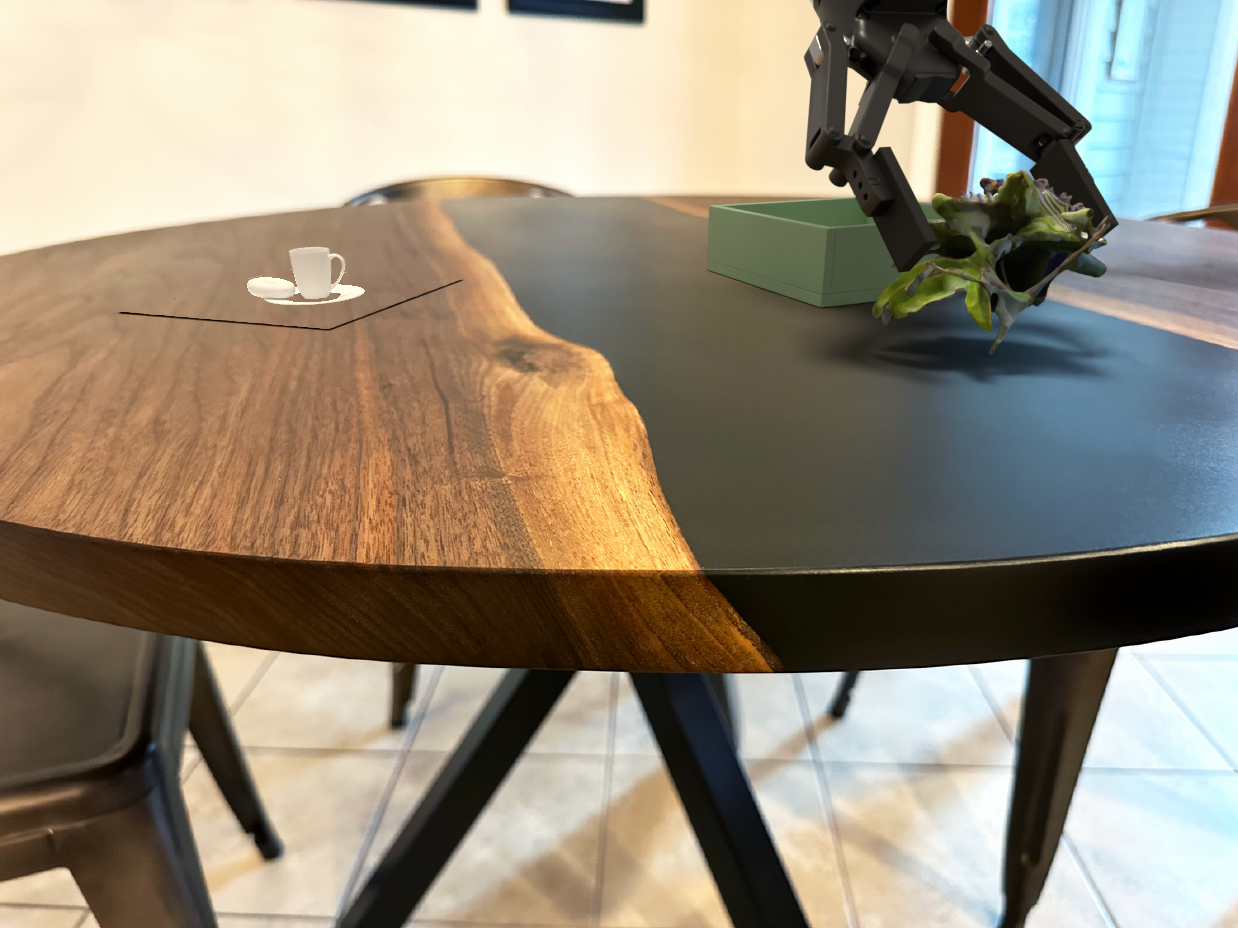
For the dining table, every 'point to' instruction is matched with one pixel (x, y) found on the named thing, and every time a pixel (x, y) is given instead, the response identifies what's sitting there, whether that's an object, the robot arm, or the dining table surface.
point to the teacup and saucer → (305, 280)
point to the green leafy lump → (998, 252)
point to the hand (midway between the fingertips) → (1012, 248)
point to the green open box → (804, 249)
